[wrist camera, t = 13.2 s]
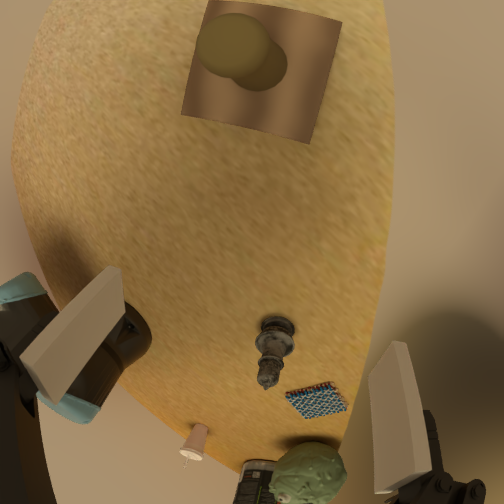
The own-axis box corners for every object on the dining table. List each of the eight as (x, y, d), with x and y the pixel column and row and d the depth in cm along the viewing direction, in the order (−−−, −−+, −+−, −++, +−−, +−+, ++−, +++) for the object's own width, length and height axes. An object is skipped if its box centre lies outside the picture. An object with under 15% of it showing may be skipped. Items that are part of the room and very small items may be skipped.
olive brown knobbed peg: (228, 39, 23) (184, 8, 14) (288, 37, 22) (273, -1, 13) (227, 92, 26) (182, 84, 17) (287, 92, 25) (272, 81, 16)
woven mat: (305, 414, 56) (304, 421, 54) (283, 389, 53) (281, 397, 51) (350, 403, 52) (350, 411, 50) (332, 377, 49) (332, 385, 47)
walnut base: (194, 113, 32) (180, 114, 28) (219, 10, 25) (208, -1, 21) (309, 140, 31) (309, 144, 27) (339, 31, 24) (342, 22, 20)
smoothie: (200, 420, 65) (184, 464, 53) (217, 431, 67) (203, 474, 55) (185, 422, 68) (169, 463, 56) (202, 433, 69) (187, 473, 57)
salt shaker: (253, 319, 44) (235, 379, 34) (288, 311, 42) (278, 373, 32) (268, 344, 47) (254, 403, 36) (301, 338, 44) (294, 399, 34)
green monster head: (345, 453, 63) (340, 514, 46) (279, 452, 68) (267, 512, 50) (352, 431, 56) (349, 504, 39) (275, 430, 61) (260, 501, 43)
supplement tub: (235, 463, 79) (217, 526, 56) (258, 454, 71) (239, 527, 48) (274, 475, 80) (261, 535, 57) (300, 467, 72) (288, 536, 50)
